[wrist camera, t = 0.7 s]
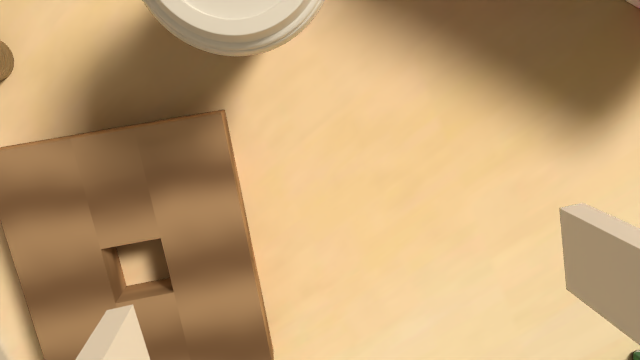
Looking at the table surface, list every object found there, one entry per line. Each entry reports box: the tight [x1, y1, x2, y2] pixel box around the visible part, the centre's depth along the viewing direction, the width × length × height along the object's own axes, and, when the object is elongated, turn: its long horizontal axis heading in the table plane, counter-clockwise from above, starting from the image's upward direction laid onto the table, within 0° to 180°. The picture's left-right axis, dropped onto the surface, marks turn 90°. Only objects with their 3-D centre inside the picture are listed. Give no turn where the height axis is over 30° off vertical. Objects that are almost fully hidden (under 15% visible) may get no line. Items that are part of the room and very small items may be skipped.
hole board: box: [0, 110, 274, 360], centre depth 38 cm, size 20×16×3 cm
